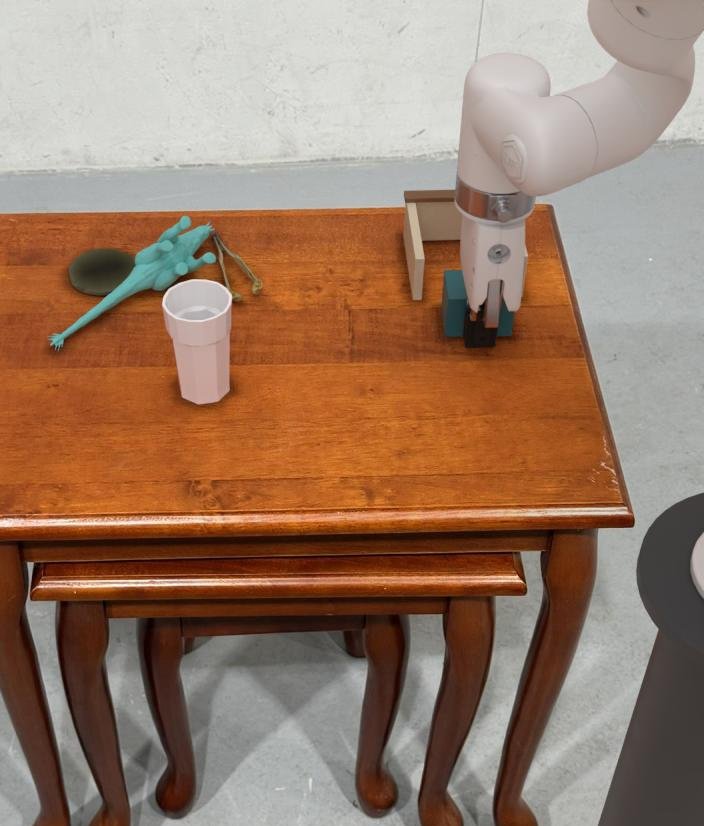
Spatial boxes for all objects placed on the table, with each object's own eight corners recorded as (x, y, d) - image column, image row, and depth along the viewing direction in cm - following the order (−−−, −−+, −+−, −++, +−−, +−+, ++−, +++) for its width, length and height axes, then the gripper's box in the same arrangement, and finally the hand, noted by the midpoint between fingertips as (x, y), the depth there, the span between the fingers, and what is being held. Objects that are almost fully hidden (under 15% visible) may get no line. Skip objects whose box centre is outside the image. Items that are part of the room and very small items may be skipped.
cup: (229, 413, 127) (223, 325, 119) (164, 405, 128) (154, 317, 120) (243, 370, 132) (238, 283, 124) (180, 362, 132) (172, 276, 125)
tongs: (222, 232, 148) (219, 219, 147) (268, 296, 140) (264, 282, 139) (189, 246, 148) (185, 233, 146) (233, 311, 139) (229, 297, 138)
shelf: (524, 297, 140) (531, 251, 135) (410, 300, 140) (413, 254, 135) (508, 233, 148) (514, 187, 144) (401, 236, 148) (403, 190, 144)
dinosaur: (222, 187, 140) (190, 207, 147) (54, 309, 128) (26, 325, 134) (252, 233, 142) (219, 251, 148) (89, 358, 130) (60, 371, 136)
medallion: (97, 239, 146) (98, 244, 147) (53, 277, 142) (54, 282, 142) (154, 261, 143) (154, 267, 144) (110, 301, 139) (111, 306, 140)
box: (511, 336, 135) (516, 298, 132) (444, 337, 135) (448, 299, 132) (505, 307, 139) (510, 269, 135) (440, 307, 139) (444, 269, 135)
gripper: (549, 234, 114) (526, 389, 127) (523, 146, 125) (504, 298, 138) (465, 237, 114) (451, 392, 127) (446, 148, 125) (434, 300, 138)
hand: (478, 343), depth 133 cm, fingers closed
